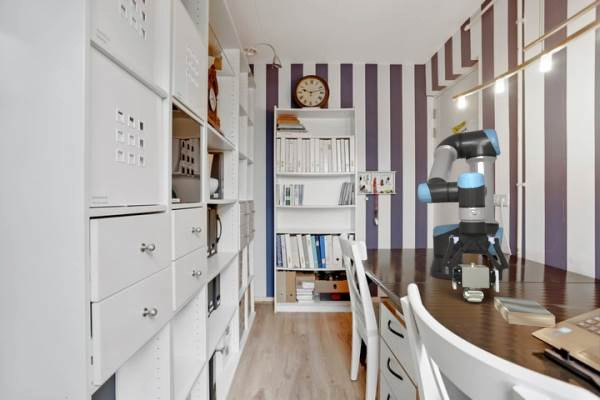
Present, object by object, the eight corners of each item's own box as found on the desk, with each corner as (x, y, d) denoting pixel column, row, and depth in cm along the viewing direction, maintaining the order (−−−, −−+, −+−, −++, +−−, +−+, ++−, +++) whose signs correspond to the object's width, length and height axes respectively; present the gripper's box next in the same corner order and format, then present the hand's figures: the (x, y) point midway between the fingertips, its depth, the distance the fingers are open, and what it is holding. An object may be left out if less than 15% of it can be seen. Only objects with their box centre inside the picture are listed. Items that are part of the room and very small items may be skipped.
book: (494, 306, 91) (493, 296, 91) (533, 310, 88) (532, 298, 88) (508, 323, 78) (508, 311, 78) (555, 328, 75) (554, 315, 75)
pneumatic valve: (496, 303, 91) (496, 264, 91) (455, 301, 93) (455, 263, 93) (489, 297, 96) (488, 261, 96) (450, 296, 99) (449, 260, 99)
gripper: (433, 222, 95) (435, 289, 95) (520, 221, 87) (523, 295, 87) (431, 220, 102) (433, 283, 102) (511, 219, 94) (514, 288, 94)
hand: (474, 289), depth 94 cm, fingers closed on pneumatic valve, 11 cm apart
